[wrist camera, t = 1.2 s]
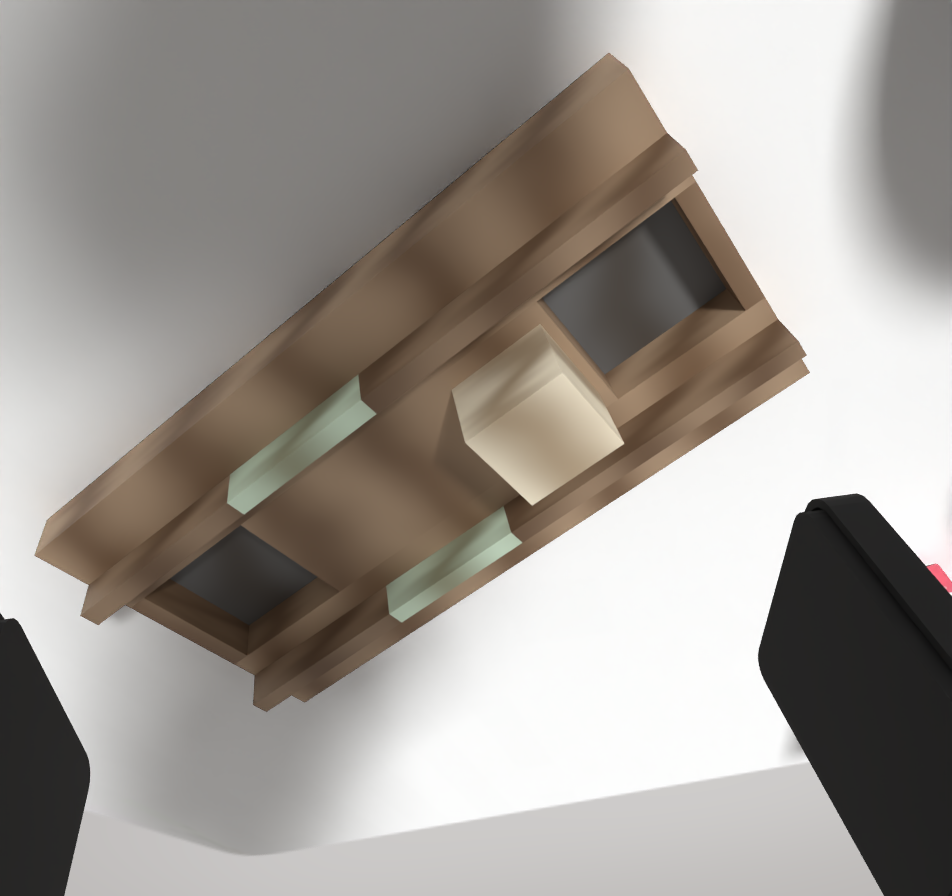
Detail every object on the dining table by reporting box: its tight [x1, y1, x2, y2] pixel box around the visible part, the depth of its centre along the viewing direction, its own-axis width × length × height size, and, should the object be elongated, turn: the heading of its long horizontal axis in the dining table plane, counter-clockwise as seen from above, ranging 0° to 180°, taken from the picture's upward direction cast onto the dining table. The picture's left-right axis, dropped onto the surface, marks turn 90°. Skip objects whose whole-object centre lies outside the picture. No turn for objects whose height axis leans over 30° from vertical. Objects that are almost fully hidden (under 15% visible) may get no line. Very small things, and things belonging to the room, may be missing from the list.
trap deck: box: [34, 53, 810, 712], centre depth 40 cm, size 34×18×4 cm, turn 127°
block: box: [452, 324, 624, 505], centre depth 37 cm, size 5×5×4 cm
